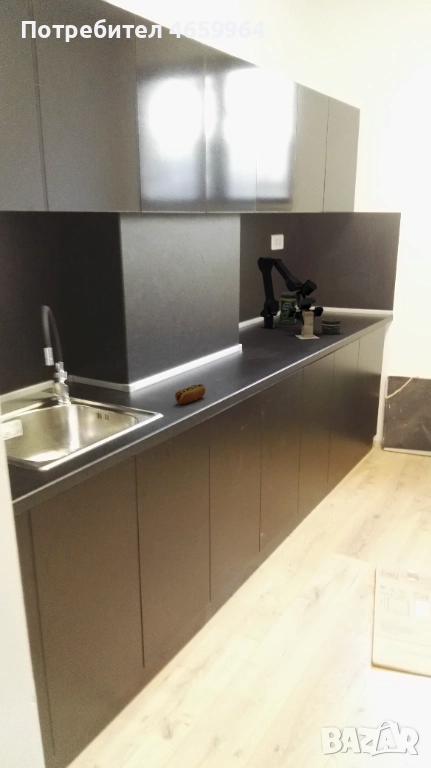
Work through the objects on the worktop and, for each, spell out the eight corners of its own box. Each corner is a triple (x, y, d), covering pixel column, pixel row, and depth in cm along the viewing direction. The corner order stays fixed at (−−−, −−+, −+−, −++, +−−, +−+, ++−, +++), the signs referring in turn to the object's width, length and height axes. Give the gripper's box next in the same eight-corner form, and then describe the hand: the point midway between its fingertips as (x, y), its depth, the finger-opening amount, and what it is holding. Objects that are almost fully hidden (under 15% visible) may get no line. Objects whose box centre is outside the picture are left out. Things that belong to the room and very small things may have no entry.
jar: (343, 333, 312) (343, 319, 310) (335, 336, 304) (335, 322, 302) (326, 331, 318) (326, 317, 315) (317, 334, 310) (318, 320, 308)
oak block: (301, 336, 304) (302, 311, 300) (309, 335, 304) (310, 311, 301) (304, 337, 299) (305, 312, 296) (312, 337, 300) (313, 312, 296)
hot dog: (171, 404, 195) (171, 390, 194) (196, 395, 205) (196, 381, 204) (182, 407, 192) (182, 393, 191) (207, 397, 202) (207, 384, 201)
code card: (294, 335, 306) (294, 335, 306) (312, 335, 308) (312, 334, 307) (301, 339, 296) (301, 339, 296) (319, 338, 298) (319, 338, 298)
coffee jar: (277, 324, 340) (278, 292, 335) (281, 321, 347) (281, 290, 342) (294, 325, 337) (295, 292, 331) (297, 322, 344) (298, 291, 339)
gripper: (288, 292, 297) (295, 316, 290) (323, 290, 301) (330, 315, 293) (283, 305, 307) (289, 329, 300) (317, 303, 310) (323, 328, 303)
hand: (308, 325), depth 299 cm, fingers closed on oak block, 4 cm apart
